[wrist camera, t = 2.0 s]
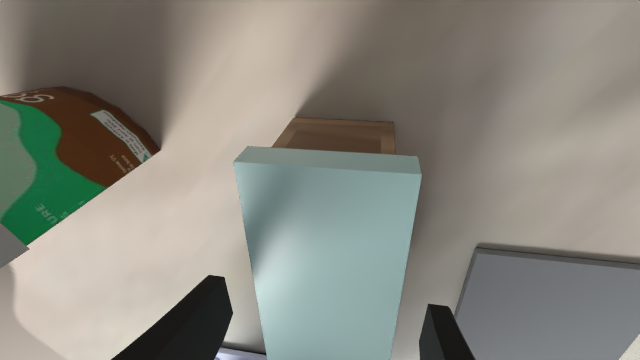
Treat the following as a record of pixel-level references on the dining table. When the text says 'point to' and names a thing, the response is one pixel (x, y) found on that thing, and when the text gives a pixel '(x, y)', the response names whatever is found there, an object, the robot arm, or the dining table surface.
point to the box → (338, 136)
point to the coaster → (548, 307)
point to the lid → (327, 248)
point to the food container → (59, 159)
